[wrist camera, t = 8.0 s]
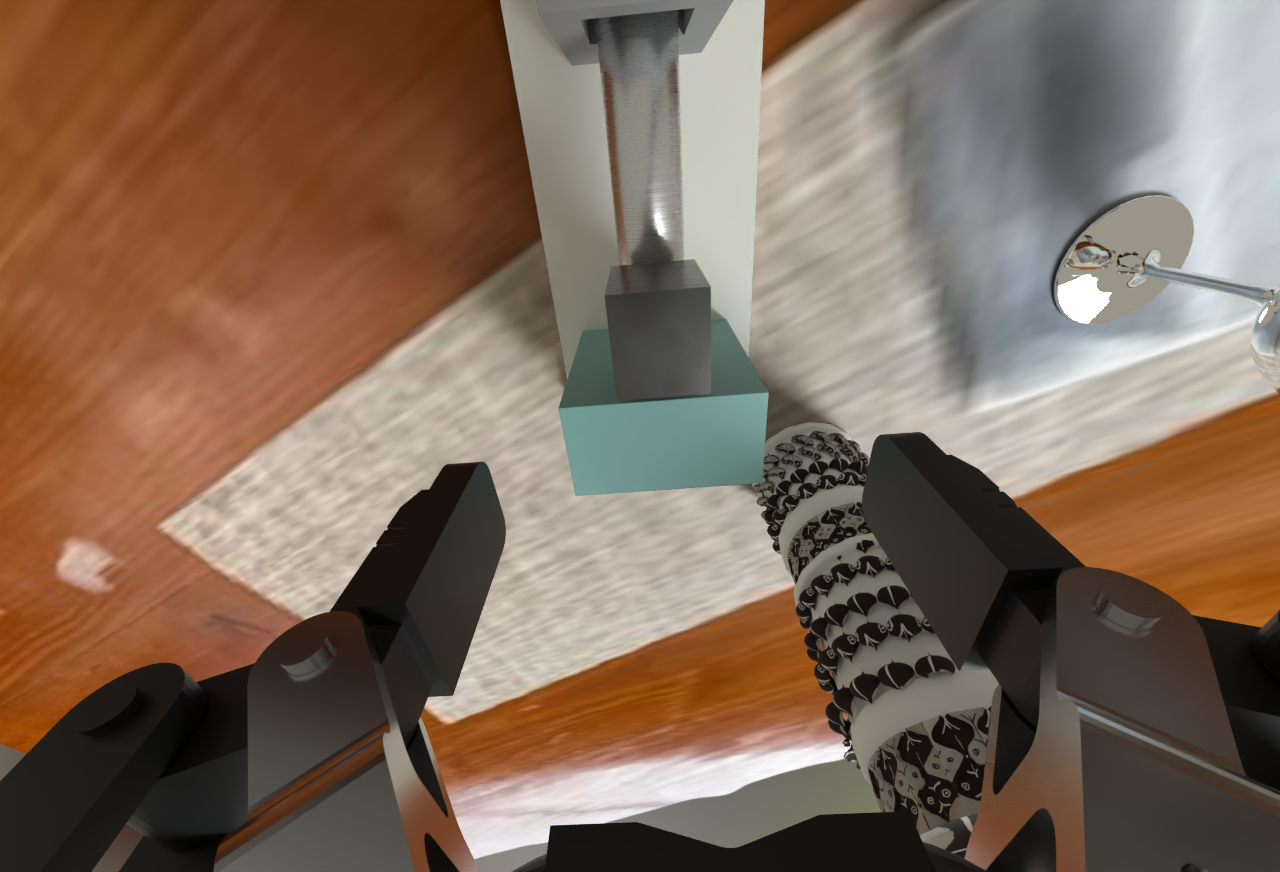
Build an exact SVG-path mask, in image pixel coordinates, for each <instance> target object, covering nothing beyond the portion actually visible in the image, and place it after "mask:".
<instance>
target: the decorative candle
mask: <svg viewBox="0 0 1280 872" xmlns="http://www.w3.org/2000/svg"><path fill="white" fill-rule="evenodd" d="M869 462H870V459H869V457H868V456H867V455H866V454H865V453H862V452H861V449H860V446H859V445H858V444H857V443H856V442H854V441H852V439H851V438H850V436H849V435H848V434H847V433H846V432H844V431H842V430H841V429H839V428H837V427H835V426H833V425H831V424H826V423H815V422H806V423H802V424H798V425H794V426H790V427H786V428H785V429H783V430H781V431H780V432H778V433H777V434H775V435H773V436H772V437H770V438H768V439H767V440H766V442H765V451H764V465H763V479H762V483H755V484H752V487H753V490H754V492H755V493H756V494H757V495H758V496H759V497H760V498H758V500H757V504H758V505H760V506H766V507H767V509H766V511H763V512H762V513H761V516H762V518H764V519H765V521H766V523H767V524H769V525H770V526H769V527H768V529H767V531H768V534H769V535H770V536H771V538H772V539H773V540H775V541H774V543H773V549H774V550H775V551H776V552H777V553H779V554H781V555H782V558H783V561H784V563H785V566H786V569H787V570H788V571H789V573H790V574H791V575H792V577H793V580H794V582H795V585H796V586H795V588H794V590H793V592H794V598H795V604H796V613H797V615H798V617H799V618H800V624H801V626H802V627H803V628H805V629H807V630H810V631H811V632H810V633H808V634H807V635H806V636H805V645H806V646H807V648H808V650H807V654H808V656H809V657H810V659H812V660H813V661H816V662H818V664H817V665H816V666H815V669H814V673H815V676H816V678H817V679H818V680H819V685H820V687H821V688H822V689H823V690H824V691H826V692H828V693H832V694H833V698H832V702H831V703H830V704H829V705H828V706H827V707H826V716H827V718H828V719H829V720H828V723H829V726H830V728H831V729H832V730H833V731H835V732H836V733H839V734H842V735H843V736H844V737H845V738H846V739H845V740H844V742H843V744H845V745H844V746H850V742H849V740H851V741H852V744H851V748H850V749H849V750H848V751H847V752H846V753H845V754H844V756H843V757H844V758H846V759H848V761H849V762H854V761H858V762H857V768H858V769H861V771H862V773H863V776H864V779H865V780H866V781H867V782H869V783H870V784H871V785H872V787H873V791H874V793H875V796H876V798H877V801H878V804H879V807H880V809H881V812H905V811H910V813H911V816H912V818H913V820H914V823H915V825H916V828H917V830H918V832H919V835H920V837H921V840H922V842H925V843H929V844H932V845H934V846H937V847H939V848H942V849H944V850H947V851H949V852H951V853H954V854H956V855H958V856H960V857H962V858H964V859H965V855H966V851H967V846H968V843H969V839H970V836H971V833H972V830H973V827H974V825H975V822H976V819H977V816H978V812H979V808H980V803H981V796H982V787H983V778H984V769H985V760H986V752H987V743H988V734H989V725H990V716H991V707H992V698H993V693H994V691H995V689H996V687H997V685H998V681H997V680H996V678H995V677H994V675H993V674H992V673H991V671H990V670H987V671H968V672H959V670H958V669H957V667H956V665H955V664H954V662H953V661H952V659H951V657H950V656H949V654H948V653H947V651H946V650H945V648H944V646H943V645H942V643H941V642H940V640H939V638H938V637H937V635H936V634H935V632H934V630H933V629H932V627H931V626H930V624H929V622H928V621H927V619H926V618H925V616H924V614H923V613H922V611H921V610H920V608H919V606H918V605H917V603H916V602H915V600H914V598H913V597H912V595H911V594H910V592H909V591H908V589H907V587H906V586H905V584H904V583H903V581H902V579H901V578H900V576H899V575H898V573H897V571H896V570H895V568H894V567H893V565H892V563H891V562H890V560H889V559H888V557H887V555H886V554H885V552H884V551H883V549H882V547H881V546H880V544H879V543H878V541H877V539H876V538H875V536H874V535H873V533H872V532H871V530H870V528H869V527H868V525H867V523H866V521H865V518H864V514H863V509H862V494H863V490H864V485H865V480H866V476H867V471H868V467H869ZM819 641H820V644H821V647H822V649H823V651H821V649H820V646H819ZM829 671H831V673H832V675H833V678H834V679H833V678H832V676H831V675H830V673H829ZM834 680H835V681H834ZM842 712H845V713H847V714H848V720H847V721H845V719H844V718H843V715H842Z"/></svg>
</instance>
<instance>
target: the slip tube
mask: <svg viewBox="0 0 1280 872" xmlns="http://www.w3.org/2000/svg"><path fill="white" fill-rule="evenodd" d="M595 24H596V34H597V44H598V54H599V64H600V74H601V85H602V95H603V105H604V115H605V125H606V135H607V145H608V155H609V165H610V176H611V186H612V196H613V206H614V216H615V226H616V236H617V246H618V256H619V266H611V269H610V273H609V278H608V282H607V286H606V291H605V295H604V296H605V304H606V313H607V321H608V329H609V338H610V346H611V355H612V363H613V372H614V380H615V388H616V397H617V401H621V400H635V399H648V398H661V397H674V396H687V395H700V394H711V286H710V284H709V283H708V281H707V279H706V278H705V276H704V274H703V273H702V271H701V269H700V268H699V266H698V264H697V263H696V261H695V259H690V260H685V249H684V214H683V179H682V144H681V109H680V74H679V39H678V10H670V11H661V12H651V13H642V14H632V15H622V16H613V17H603V18H595Z"/></svg>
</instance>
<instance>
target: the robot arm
mask: <svg viewBox="0 0 1280 872" xmlns="http://www.w3.org/2000/svg"><path fill="white" fill-rule="evenodd" d="M862 509H863V514H864V518H865V521H866V523H867V525H868V527H869V528H870V530H871V532H872V533H873V535H874V536H875V538H876V539H877V541H878V543H879V544H880V546H881V547H882V549H883V551H884V552H885V554H886V555H887V557H888V559H889V560H890V562H891V563H892V565H893V567H894V568H895V570H896V571H897V573H898V575H899V576H900V578H901V579H902V581H903V583H904V584H905V586H906V587H907V589H908V591H909V592H910V594H911V595H912V597H913V598H914V600H915V602H916V603H917V605H918V606H919V608H920V610H921V611H922V613H923V614H924V616H925V618H926V619H927V621H928V622H929V624H930V626H931V627H932V629H933V630H934V632H935V634H936V635H937V637H938V638H939V640H940V642H941V643H942V645H943V646H944V648H945V650H946V651H947V653H948V654H949V656H950V657H951V659H952V661H953V662H954V664H955V665H956V667H957V669H958V670H959V672H968V671H987V670H990V671H991V673H992V674H993V675H994V677H995V678H996V680H997V681H998V685H997V687H996V689H995V691H994V693H993V698H992V707H991V716H990V725H989V734H988V743H987V752H986V760H985V769H984V778H983V787H982V796H981V803H980V808H979V812H978V816H977V819H976V822H975V825H974V827H973V830H972V833H971V836H970V839H969V843H968V846H967V851H966V855H965V859H964V858H962V857H960V856H958V855H956V854H954V853H951V852H949V851H947V850H944V849H942V848H939V847H937V846H934V845H932V844H929V843H925V842H922V840H921V837H920V835H919V832H918V830H917V828H916V825H915V823H914V820H913V818H912V816H911V813H910V811H905V812H880V813H855V814H831V815H818V816H816V817H813V818H811V819H808V820H806V821H803V822H801V823H798V824H796V825H793V826H791V827H788V828H786V829H784V830H781V831H778V832H776V833H773V834H771V835H768V836H766V837H763V838H761V839H758V840H756V841H753V842H751V843H748V844H746V845H743V846H740V847H737V848H724V847H720V846H716V845H712V844H709V843H706V842H702V841H699V840H695V839H692V838H689V837H686V836H682V835H679V834H675V833H672V832H668V831H665V830H662V829H658V828H655V827H651V826H648V825H645V824H641V823H638V822H632V823H631V822H630V823H605V824H580V825H555V826H550V834H549V841H548V849H547V854H545V855H543V856H540V857H538V858H536V859H534V860H532V861H530V862H528V863H527V864H525V865H523V866H521V867H519V868H518V869H516V870H514V871H513V872H1280V610H1279V611H1278V612H1277V613H1276V614H1275V615H1274V616H1273V617H1272V618H1271V619H1270V620H1269V621H1268V622H1267V623H1266V624H1265V625H1264V626H1263V627H1262V628H1261V627H1255V626H1250V625H1244V624H1238V623H1233V622H1227V621H1222V620H1216V619H1210V618H1205V617H1199V616H1194V615H1192V614H1191V613H1190V612H1189V611H1188V610H1187V609H1185V608H1184V607H1183V606H1182V605H1181V604H1180V603H1178V602H1177V601H1176V600H1174V599H1173V598H1171V597H1170V596H1169V595H1167V594H1165V593H1164V592H1162V591H1160V590H1159V589H1157V588H1155V587H1153V586H1151V585H1149V584H1147V583H1145V582H1143V581H1140V580H1138V579H1136V578H1133V577H1131V576H1128V575H1125V574H1122V573H1118V572H1115V571H1111V570H1106V569H1101V568H1092V567H1086V566H1085V565H1083V564H1082V563H1081V562H1080V561H1079V560H1078V559H1077V558H1076V557H1075V556H1074V555H1072V554H1071V553H1070V552H1069V551H1068V550H1067V549H1066V548H1065V547H1064V546H1063V545H1062V544H1060V543H1059V542H1058V541H1057V540H1056V539H1055V538H1054V537H1053V536H1052V535H1051V534H1049V533H1048V532H1047V531H1046V530H1045V529H1044V528H1043V527H1042V526H1041V525H1040V524H1038V523H1037V522H1036V521H1035V520H1034V519H1033V518H1032V517H1031V516H1030V515H1029V514H1027V513H1026V512H1025V511H1024V510H1023V509H1022V508H1021V507H1020V508H1017V506H1016V503H1015V502H1014V501H1013V500H1012V499H1011V498H1010V497H1009V496H1008V495H1007V494H1006V493H1004V492H1000V491H999V487H998V486H997V485H996V484H995V483H993V482H992V481H991V480H990V479H989V478H988V477H987V476H986V475H985V474H984V473H982V472H981V471H980V470H979V469H977V468H975V467H973V466H972V465H970V464H968V463H966V462H964V461H962V460H960V459H958V458H956V457H955V456H953V455H946V454H945V453H944V452H943V451H942V450H941V449H940V448H939V447H938V446H937V445H936V444H935V443H934V442H932V441H931V440H930V439H929V438H928V437H927V436H926V435H925V434H923V433H921V432H913V433H899V434H885V435H879V436H878V437H877V438H876V440H875V441H874V444H873V448H872V453H871V457H870V462H869V467H868V471H867V476H866V480H865V485H864V490H863V494H862ZM387 527H388V530H385V531H384V532H383V534H382V535H381V537H380V538H379V540H378V541H377V543H376V544H377V546H376V547H373V549H372V550H371V552H370V553H369V554H368V556H367V557H366V559H365V560H364V562H363V563H362V565H361V566H360V568H359V569H358V571H357V572H356V574H355V575H354V577H353V578H352V580H351V581H350V582H349V584H348V585H347V587H346V588H345V590H344V591H343V593H342V594H341V596H340V597H339V599H338V600H337V602H336V603H335V605H334V606H333V608H332V609H331V611H330V612H327V613H322V614H319V615H316V616H313V617H311V618H308V619H306V620H304V621H302V622H300V623H298V624H296V625H295V626H293V627H291V628H290V629H288V630H287V631H285V632H284V633H283V634H282V635H280V636H279V637H278V638H276V639H275V640H274V641H273V642H272V643H271V644H270V645H269V646H268V647H267V648H266V649H265V650H264V651H263V653H262V654H261V655H260V656H259V658H258V659H257V661H256V662H255V663H254V664H251V665H248V666H245V667H242V668H239V669H236V670H233V671H229V672H226V673H223V674H220V675H217V676H214V677H211V678H208V679H205V680H202V681H198V682H195V681H194V680H193V679H192V678H191V677H190V676H189V675H188V674H187V673H186V672H185V671H184V670H183V669H182V668H181V667H180V666H178V665H176V664H173V663H157V664H152V665H148V666H145V667H141V668H139V669H136V670H133V671H131V672H129V673H126V674H124V675H122V676H120V677H118V678H116V679H114V680H113V681H111V682H109V683H107V684H105V685H104V686H102V687H101V688H99V689H98V690H96V691H95V692H93V693H92V694H90V695H89V696H88V697H86V698H85V699H83V700H82V701H81V702H80V703H78V704H77V705H76V706H75V707H74V708H72V709H71V710H70V711H69V712H68V713H67V714H66V715H65V716H64V717H63V718H62V719H61V720H60V721H59V722H58V723H57V724H56V725H55V726H54V727H53V728H52V729H51V730H50V731H49V732H48V733H47V734H46V735H45V736H44V737H43V738H42V739H41V740H40V741H39V742H38V743H37V744H36V745H35V746H34V747H33V748H32V749H31V750H30V751H29V752H28V753H27V754H26V755H25V756H24V757H23V759H22V760H21V761H20V762H19V763H18V764H17V765H16V766H15V767H14V768H13V769H12V770H11V771H10V772H9V773H8V774H7V775H6V776H5V777H4V778H3V779H2V780H1V781H0V872H91V871H92V870H93V868H94V867H95V866H96V865H97V863H98V862H99V860H100V859H101V858H102V856H103V855H104V853H105V852H106V851H107V849H108V848H109V847H110V845H111V844H112V842H113V841H114V840H115V838H116V837H117V835H118V834H119V833H120V831H121V830H122V829H123V827H124V826H125V824H127V825H128V826H130V827H132V828H133V829H135V830H136V831H138V832H139V833H141V834H143V835H144V836H143V838H142V839H141V840H140V842H139V843H138V845H137V846H136V848H135V849H134V851H133V852H132V854H131V855H130V856H129V858H128V859H127V861H126V862H125V864H124V865H123V867H122V868H121V870H120V871H119V872H479V871H478V868H477V866H476V863H475V861H474V859H473V856H472V854H471V852H470V850H469V848H468V846H467V844H466V842H465V840H464V838H463V835H462V833H461V831H460V828H459V826H458V823H457V820H456V818H455V815H454V812H453V809H452V806H451V803H450V800H449V797H448V794H447V791H446V788H445V785H444V782H443V779H442V776H441V773H440V770H439V767H438V764H437V762H436V759H435V756H434V753H433V750H432V747H431V744H430V741H429V738H428V735H427V732H426V729H425V726H424V724H423V722H422V720H421V718H420V716H421V714H422V711H423V708H424V706H425V703H426V701H427V698H428V697H433V696H453V694H454V691H455V688H456V685H457V682H458V679H459V676H460V673H461V670H462V668H463V665H464V662H465V659H466V656H467V653H468V650H469V647H470V644H471V641H472V638H473V635H474V633H475V630H476V627H477V624H478V621H479V618H480V615H481V612H482V609H483V606H484V603H485V600H486V598H487V595H488V592H489V589H490V586H491V583H492V580H493V577H494V574H495V571H496V568H497V565H498V563H499V560H500V557H501V554H502V551H503V548H504V544H505V536H506V527H505V519H504V516H503V512H502V509H501V506H500V503H499V499H498V496H497V493H496V490H495V486H494V483H493V480H492V477H491V473H490V470H489V468H488V466H487V465H486V464H485V463H484V462H473V463H459V464H447V465H445V466H444V467H443V468H442V470H441V471H440V473H439V475H438V476H437V478H436V479H435V481H434V483H433V484H432V486H431V487H430V489H429V490H421V491H420V492H419V493H417V494H416V495H415V496H414V497H412V498H411V499H410V500H409V501H408V502H406V503H405V504H404V505H403V506H401V507H400V509H399V510H398V512H397V513H396V515H395V516H394V518H393V519H392V521H391V522H390V523H389V525H388V526H387Z"/></svg>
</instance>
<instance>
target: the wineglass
mask: <svg viewBox="0 0 1280 872" xmlns="http://www.w3.org/2000/svg"><path fill="white" fill-rule="evenodd" d="M1193 236H1194V223H1193V218H1192V216H1191V213H1190V211H1189V209H1188V208H1187V207H1186V206H1185V205H1184V204H1183V203H1182V202H1180V201H1178V200H1176V199H1175V198H1173V197H1168V196H1162V195H1152V196H1144V197H1140V198H1136V199H1132V200H1130V201H1127V202H1125V203H1123V204H1120V205H1118V206H1116V207H1114V208H1113V209H1111V210H1109V211H1108V212H1106V213H1104V214H1103V215H1101V216H1100V217H1099V218H1098V219H1096V220H1095V221H1094V222H1092V223H1091V224H1090V225H1089V226H1088V227H1087V228H1086V229H1085V230H1084V231H1083V232H1082V233H1081V234H1080V235H1079V236H1078V237H1077V238H1076V240H1075V241H1074V242H1073V244H1072V245H1071V246H1070V247H1069V249H1068V250H1067V252H1066V254H1065V256H1064V257H1063V259H1062V261H1061V263H1060V265H1059V268H1058V270H1057V273H1056V277H1055V282H1054V298H1055V302H1056V305H1057V307H1058V309H1059V310H1060V312H1061V313H1062V314H1063V315H1064V316H1065V317H1066V318H1068V319H1069V320H1072V321H1074V322H1076V323H1081V324H1087V325H1090V324H1102V323H1107V322H1111V321H1115V320H1117V319H1120V318H1123V317H1125V316H1127V315H1129V314H1131V313H1133V312H1135V311H1137V310H1138V309H1140V308H1141V307H1143V306H1144V305H1146V304H1147V303H1149V302H1150V301H1151V300H1153V299H1154V298H1155V297H1156V296H1157V295H1158V294H1159V293H1161V292H1162V291H1163V290H1164V289H1165V288H1166V286H1167V285H1168V284H1169V283H1170V282H1172V283H1177V284H1181V285H1186V286H1190V287H1194V288H1199V289H1203V290H1208V291H1212V292H1217V293H1220V294H1224V295H1228V296H1232V297H1236V298H1239V299H1242V300H1245V301H1247V302H1250V303H1253V304H1255V305H1258V306H1259V307H1261V308H1260V310H1259V312H1258V314H1257V316H1256V318H1255V321H1254V325H1253V330H1252V337H1251V355H1252V357H1253V360H1254V362H1255V364H1256V366H1257V368H1258V370H1259V372H1260V374H1261V376H1262V378H1263V379H1264V380H1265V381H1266V382H1267V383H1268V384H1269V385H1270V386H1271V387H1272V388H1273V389H1274V390H1276V391H1277V392H1278V393H1279V394H1280V285H1273V284H1260V283H1250V282H1244V281H1238V280H1232V279H1226V278H1221V277H1216V276H1211V275H1206V274H1201V273H1196V272H1191V271H1186V270H1181V268H1182V266H1183V264H1184V262H1185V260H1186V258H1187V256H1188V254H1189V251H1190V248H1191V246H1192V243H1193Z"/></svg>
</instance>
